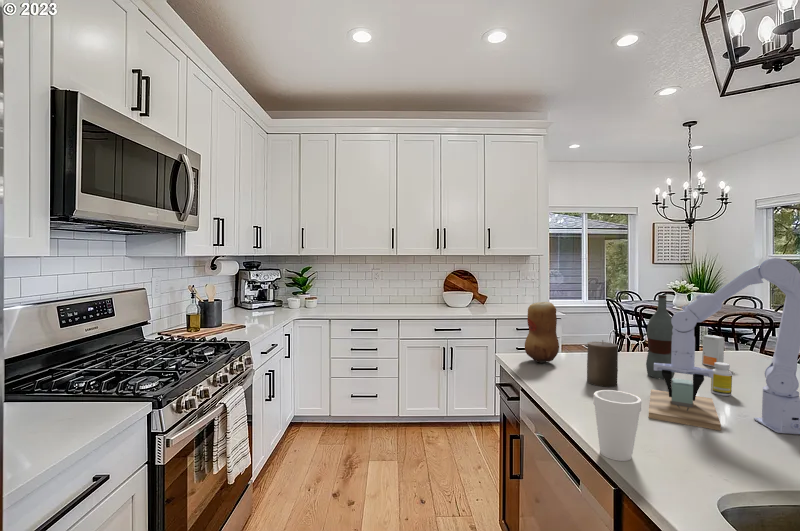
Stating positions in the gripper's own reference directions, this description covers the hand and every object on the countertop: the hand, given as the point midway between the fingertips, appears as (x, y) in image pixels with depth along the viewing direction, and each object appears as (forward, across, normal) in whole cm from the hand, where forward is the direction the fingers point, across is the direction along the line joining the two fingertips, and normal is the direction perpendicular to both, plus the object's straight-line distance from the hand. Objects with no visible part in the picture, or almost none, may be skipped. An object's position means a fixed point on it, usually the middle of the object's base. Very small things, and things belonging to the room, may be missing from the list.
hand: (681, 397), depth 127 cm
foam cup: (+3, -13, -44) cm, 46 cm away
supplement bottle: (+3, +11, +22) cm, 25 cm away
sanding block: (+1, 0, 0) cm, 1 cm away
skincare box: (+3, +12, +65) cm, 66 cm away
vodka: (+3, -6, +35) cm, 35 cm away
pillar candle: (+3, -23, +14) cm, 27 cm away
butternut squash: (+3, -48, +32) cm, 57 cm away
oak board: (+3, 0, -3) cm, 4 cm away
